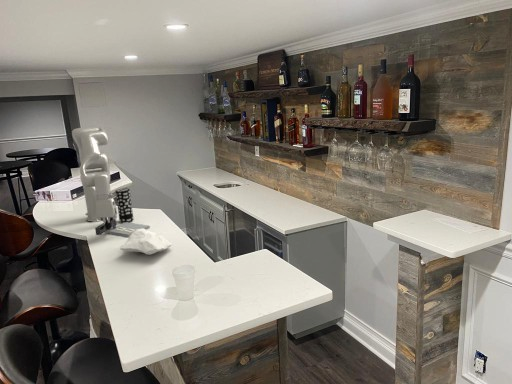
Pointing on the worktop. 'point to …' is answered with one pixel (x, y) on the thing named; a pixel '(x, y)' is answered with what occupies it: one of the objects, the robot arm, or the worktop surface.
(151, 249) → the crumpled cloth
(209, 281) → the worktop surface
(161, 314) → the worktop surface
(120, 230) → the label panel
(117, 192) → the white-spotted black cylinder
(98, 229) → the swing arm
